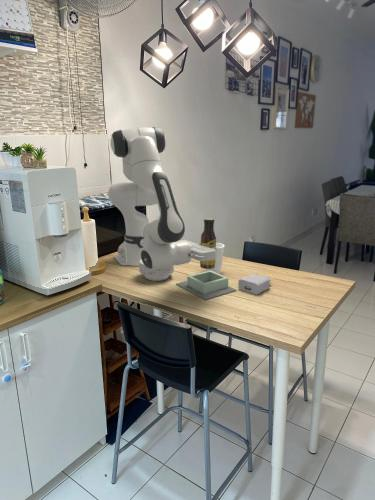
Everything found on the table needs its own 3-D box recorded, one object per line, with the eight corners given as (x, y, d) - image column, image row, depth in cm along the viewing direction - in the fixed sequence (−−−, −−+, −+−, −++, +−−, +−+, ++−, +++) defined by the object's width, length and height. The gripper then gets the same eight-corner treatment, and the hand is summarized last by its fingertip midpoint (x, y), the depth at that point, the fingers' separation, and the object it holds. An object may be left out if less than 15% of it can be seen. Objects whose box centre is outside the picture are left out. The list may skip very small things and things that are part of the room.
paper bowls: (168, 270, 179) (168, 253, 177) (178, 281, 165) (178, 263, 163) (136, 273, 175) (135, 256, 172) (143, 285, 161) (143, 267, 158)
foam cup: (198, 272, 177) (199, 244, 173) (214, 268, 182) (214, 241, 178) (212, 277, 169) (213, 249, 166) (227, 273, 175) (228, 246, 171)
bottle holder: (187, 285, 160) (187, 276, 159) (210, 279, 167) (210, 270, 166) (204, 294, 151) (204, 284, 150) (228, 287, 158) (228, 277, 157)
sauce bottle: (211, 270, 152) (212, 221, 147) (197, 268, 155) (197, 219, 150) (217, 266, 157) (219, 218, 152) (204, 264, 160) (205, 217, 155)
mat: (175, 284, 162) (175, 283, 162) (205, 276, 171) (205, 275, 171) (205, 300, 146) (205, 299, 146) (236, 290, 155) (236, 289, 155)
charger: (276, 285, 162) (257, 295, 151) (258, 279, 168) (238, 289, 157) (277, 274, 160) (258, 284, 150) (258, 269, 166) (238, 278, 156)
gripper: (198, 250, 137) (227, 244, 145) (167, 239, 154) (195, 234, 161) (198, 267, 139) (226, 260, 147) (167, 254, 155) (194, 249, 163)
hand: (210, 247), depth 154 cm, fingers closed on sauce bottle, 6 cm apart
